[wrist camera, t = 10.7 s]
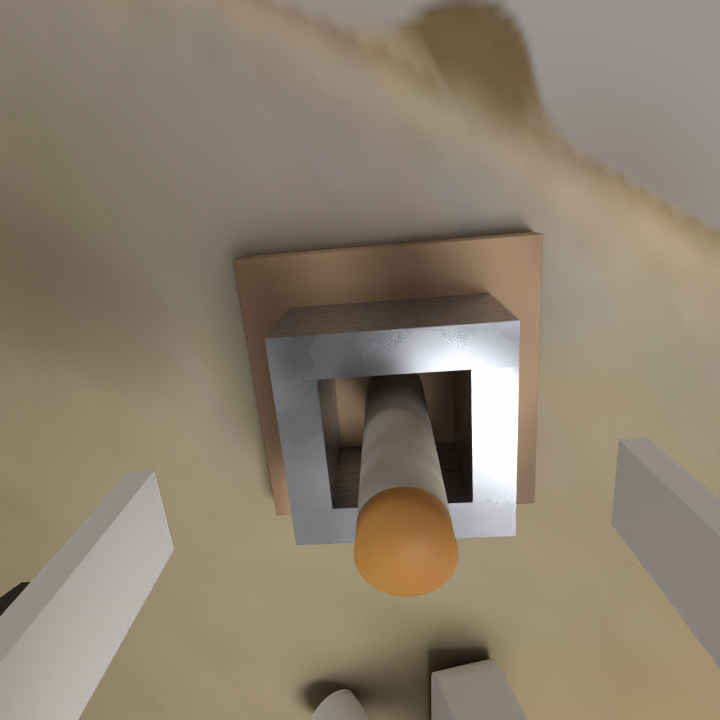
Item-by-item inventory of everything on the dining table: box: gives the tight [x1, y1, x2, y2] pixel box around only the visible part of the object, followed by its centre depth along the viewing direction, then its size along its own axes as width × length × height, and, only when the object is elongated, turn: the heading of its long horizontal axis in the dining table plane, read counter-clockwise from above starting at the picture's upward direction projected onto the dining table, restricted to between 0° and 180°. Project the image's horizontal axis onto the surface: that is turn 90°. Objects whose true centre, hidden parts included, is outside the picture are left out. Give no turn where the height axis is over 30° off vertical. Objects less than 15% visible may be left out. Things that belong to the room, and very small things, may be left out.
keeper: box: [233, 232, 543, 596], centre depth 17 cm, size 12×12×11 cm
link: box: [265, 293, 520, 545], centre depth 19 cm, size 8×8×4 cm
